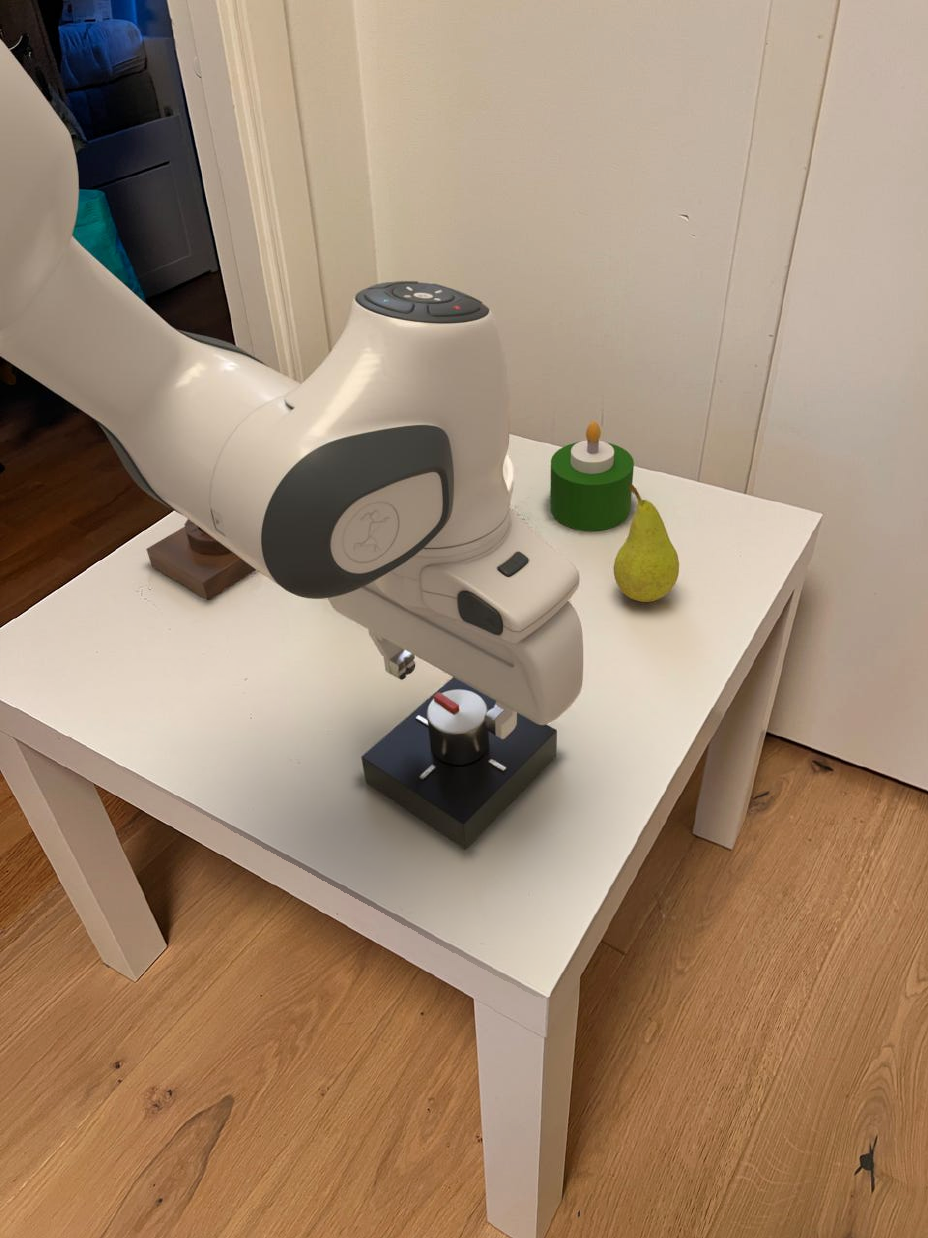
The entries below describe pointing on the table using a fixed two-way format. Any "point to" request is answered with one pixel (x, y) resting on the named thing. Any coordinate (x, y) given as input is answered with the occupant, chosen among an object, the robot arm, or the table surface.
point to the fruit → (646, 556)
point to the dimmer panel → (457, 772)
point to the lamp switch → (198, 561)
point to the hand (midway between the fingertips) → (449, 699)
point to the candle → (591, 483)
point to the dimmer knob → (457, 726)
